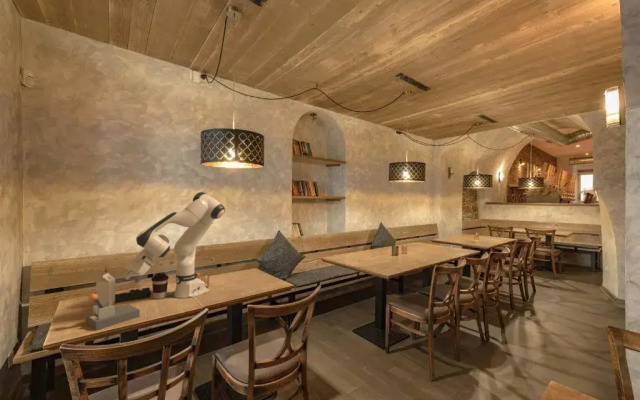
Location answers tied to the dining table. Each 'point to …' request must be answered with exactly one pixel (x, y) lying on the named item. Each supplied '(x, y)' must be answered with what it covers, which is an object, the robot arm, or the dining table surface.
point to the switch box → (111, 315)
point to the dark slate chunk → (133, 295)
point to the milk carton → (106, 289)
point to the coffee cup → (160, 285)
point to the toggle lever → (95, 300)
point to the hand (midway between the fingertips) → (125, 278)
